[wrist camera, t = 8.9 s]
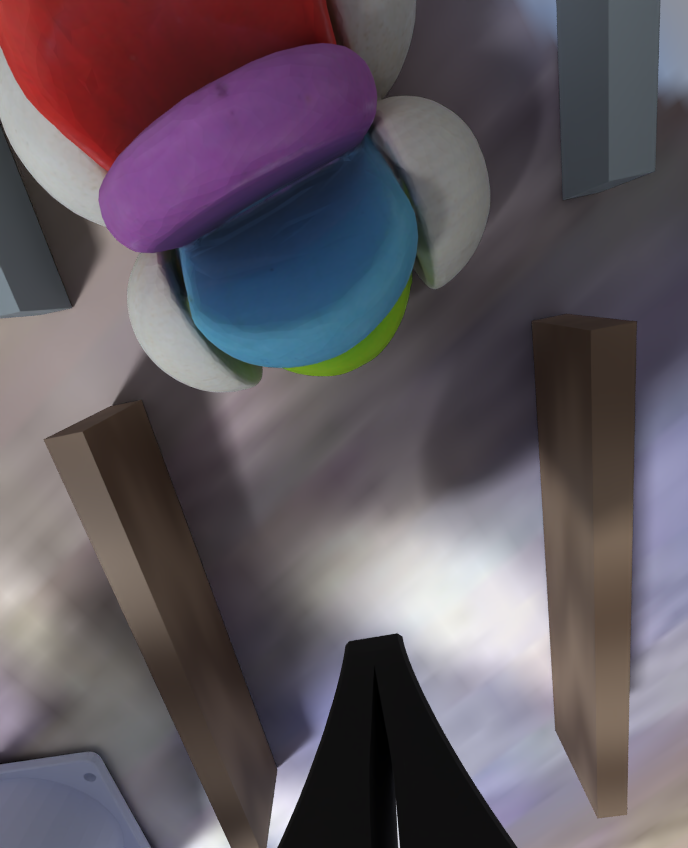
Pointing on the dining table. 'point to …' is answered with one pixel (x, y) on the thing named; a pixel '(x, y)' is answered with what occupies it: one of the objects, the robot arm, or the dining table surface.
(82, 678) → the dining table surface
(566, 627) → the lane rails
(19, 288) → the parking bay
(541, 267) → the dining table surface
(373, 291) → the multicolored rounded disc cluster
